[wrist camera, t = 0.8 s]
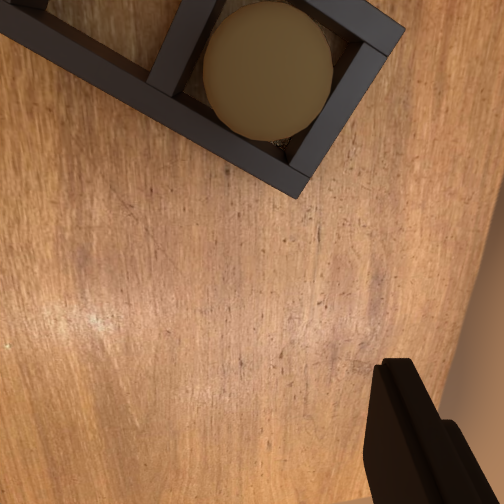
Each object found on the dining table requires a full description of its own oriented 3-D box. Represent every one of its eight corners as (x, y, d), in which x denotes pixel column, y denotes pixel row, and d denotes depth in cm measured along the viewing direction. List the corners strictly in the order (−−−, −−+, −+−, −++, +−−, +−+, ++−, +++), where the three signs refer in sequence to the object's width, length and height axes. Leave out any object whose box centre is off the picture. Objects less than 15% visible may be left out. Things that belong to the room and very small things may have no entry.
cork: (256, 140, 28) (257, 189, 18) (192, 60, 26) (152, 65, 16) (335, 74, 26) (383, 89, 16) (272, -16, 25) (283, -62, 15)
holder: (74, -182, 22) (37, -229, 18) (385, 31, 25) (406, 28, 22) (11, 21, 25) (-29, 16, 22) (291, 181, 29) (296, 200, 26)
